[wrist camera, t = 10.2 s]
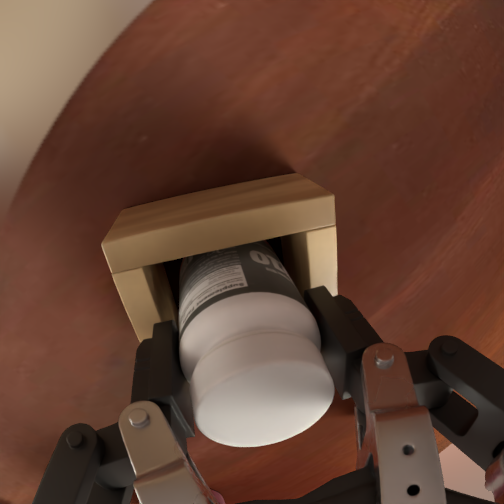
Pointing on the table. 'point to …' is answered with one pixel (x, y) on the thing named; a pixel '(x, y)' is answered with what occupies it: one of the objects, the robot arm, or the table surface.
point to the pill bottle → (249, 348)
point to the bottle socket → (220, 239)
